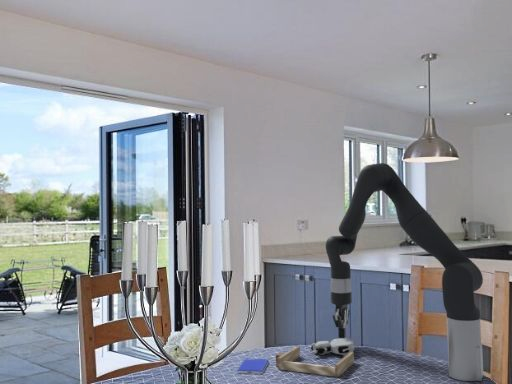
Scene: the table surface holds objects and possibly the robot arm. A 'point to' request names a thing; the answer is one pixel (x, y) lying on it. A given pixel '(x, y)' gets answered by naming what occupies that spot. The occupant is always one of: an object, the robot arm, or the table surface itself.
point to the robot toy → (333, 346)
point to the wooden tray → (286, 363)
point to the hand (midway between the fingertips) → (342, 337)
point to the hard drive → (253, 366)
